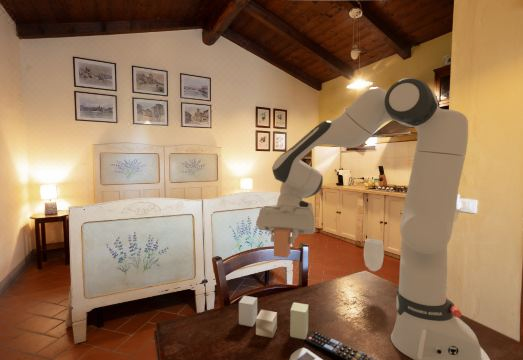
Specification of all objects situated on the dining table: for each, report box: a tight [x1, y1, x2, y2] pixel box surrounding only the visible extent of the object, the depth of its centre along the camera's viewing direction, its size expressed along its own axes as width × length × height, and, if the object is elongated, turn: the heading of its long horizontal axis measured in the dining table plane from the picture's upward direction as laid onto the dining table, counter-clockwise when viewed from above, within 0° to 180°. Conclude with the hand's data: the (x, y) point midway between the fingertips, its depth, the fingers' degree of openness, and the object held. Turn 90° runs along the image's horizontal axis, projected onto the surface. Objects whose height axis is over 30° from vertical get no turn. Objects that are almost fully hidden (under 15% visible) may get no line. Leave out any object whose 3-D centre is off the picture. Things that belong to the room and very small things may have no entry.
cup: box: [363, 238, 385, 272], centre depth 104 cm, size 7×7×21 cm
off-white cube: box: [255, 309, 278, 339], centre depth 81 cm, size 5×5×5 cm
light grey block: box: [238, 295, 258, 327], centre depth 86 cm, size 4×4×7 cm
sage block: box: [289, 302, 309, 340], centre depth 80 cm, size 4×4×8 cm
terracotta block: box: [273, 229, 292, 259], centre depth 90 cm, size 4×4×8 cm
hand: (281, 242), depth 89 cm, fingers closed on terracotta block, 4 cm apart
